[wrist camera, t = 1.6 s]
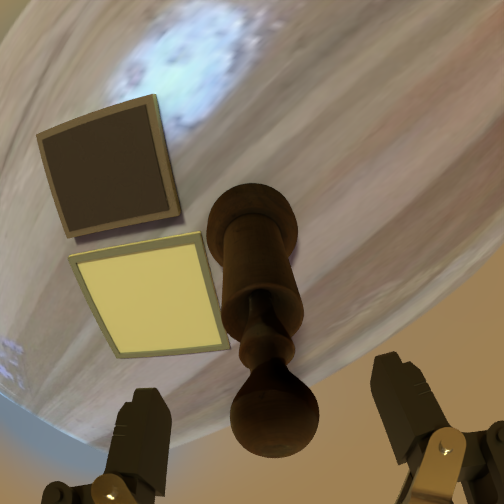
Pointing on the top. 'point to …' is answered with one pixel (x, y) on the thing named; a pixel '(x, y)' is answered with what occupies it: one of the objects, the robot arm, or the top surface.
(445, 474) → the robot arm
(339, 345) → the top surface
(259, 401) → the brown wooden stamp
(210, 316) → the print card
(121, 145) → the ink pad
